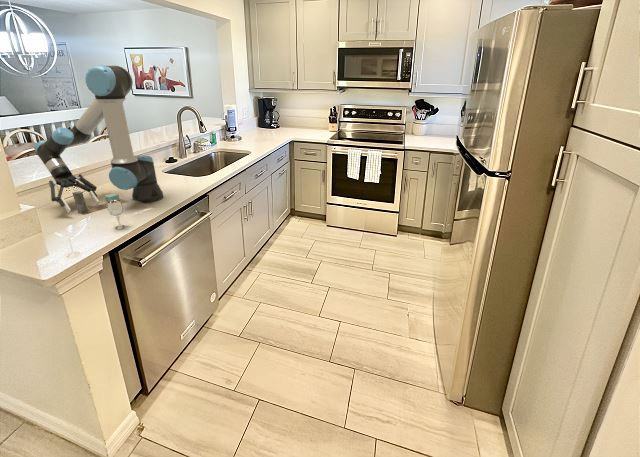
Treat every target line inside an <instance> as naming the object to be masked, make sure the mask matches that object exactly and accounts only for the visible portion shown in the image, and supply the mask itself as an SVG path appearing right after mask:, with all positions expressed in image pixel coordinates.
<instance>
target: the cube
mask: <svg viewBox="0 0 640 457" xmlns="http://www.w3.org/2000/svg"><path fill="white" fill-rule="evenodd" d="M104 198H105V201H106V203H107V204H108V201H111V200H120V196H119V194H117V193H110V194H106V195H104Z"/></svg>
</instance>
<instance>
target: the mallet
mask: <svg viewBox="0 0 640 457" xmlns="http://www.w3.org/2000/svg"><path fill="white" fill-rule="evenodd" d="M72 195H73V196H72V197H73V199H74V203H75V206H76V209H77V213H78V214H81V215H82V216H85V215H88V214H92V213H96V212H99V211H101V210H106V209H108V207H107V202H106V203H103V204H98V205H95V206H92V207H89V208H88V207H87V204H86V199H85V197H84V193H83V191H80V190H78V191H73V192H72ZM119 199H120V198H119ZM120 202H121V203H122V205H123V204H125V203H126V204H127V203H128V202H129V200H126V199H120Z"/></svg>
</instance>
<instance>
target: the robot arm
mask: <svg viewBox="0 0 640 457" xmlns="http://www.w3.org/2000/svg"><path fill="white" fill-rule="evenodd" d="M84 80H85V84H86V87H87V89H88V90H89V91H91V93H92V94H93V95H94V97H95V99H94V100H93V101H92V102H91V104H89V105H88V107H87V109H85V112H83V113H82V115H81V116H80V117H79V119H78V120H77V121H76V122H75V124H74V125H73V126H72V128H69V129H68V128H66V127H62V126H59V127H57V128H56V129H55V130H54V131H53V132H52V133H51V135H50V136H49V137H48V139H46V140H39V141H38V142H36V143H35V144H34V146H33V148H34V149H33V150H34V151H35V153H36V155H37V156H38V157H39V159H40V160H41V161H42V163H43V165H44V166H45V167H46V169H47V171H48V172H49V174H50V175H51V177H52V178H53V180H52V179H51V180H49V181H48V185H49V187H50V197H51V202H56V203H58V204H59V205H60V207H63V208H64V209H65V210H66V212H67V213H68V214H69V213H71V210H72V209H71V208H70V206H69V205H68V203H67V202H66V200H65V198H63V197H62V194H63V191H64V188H65V189H68V188H72V187H75V188H78V189H81V190H83V191H85V192H88V193H89V197H91V199H92V201H93V202H94V203H95V204H96V205H95V206H99V203H100V200H99V199H98V194H97V192H96V191H97V188H98V187H97V186H96V185H94V184H93V183H92V182H90V181H89V180H88V179H86V178H85V177H84V176H83V175H82V174H80V173H79V174H78V175H76V176H75V175H73V172H72V171H71V169H70V168H69V167H68V165H67V164H66V163H65V161H64V160H63V158H62V157H61V154H63V152H65V150H67V148H70V147H74V146H76V145H77V146H78V145H80V144H84V143H85V144H86V143H87V142H89V141H90V140H91V139H92V133H93V132H94V131H95V130H96V129H97V127H99V125H100V124H101V123H102V121H103V120H104V123H105V124H104V125H105V127H106V133H107V136H108V140H109V141H108V142H109V144H110V148H111V154H112V159H110V164H111V169H110V170H109V172H108V178H109V181H110V183H111V184H112V185H113V186H114V187H116V188H117V189H119V190H124V191H128V190H132V194H131V198H132V201H135V202H140V203H142V204H147V203H154V202H159V201H160V200H162V199H164V192H163V190H162V189H161V187H160V185H159V184H158V180H157V174H156V169H155V165H154V163H155V162H154V159H153V157H152V156H151V155H145V154H144V155H140V154H139V155H134V150H133V146H132V145H133V144H132V141H131V137H130V131H129V127H128V122H127V117H126V112H125V108H124V101H125V100H126V99H127V98H126V96H127V95H128V94H129V93H130V92H131V90H132V88H133V84H134V83H133V78H132V75H131V74H130V73H129V71H128V70H127V69H126V68H124V67H122V66H119V65H103V64H101V65H95V66H92V67H90V68H89V69H88V70H87V71H86V73H85V79H84ZM56 185H58V186H60V187H59V190H58V193H57V196H56V191H55V189H56V187H55V186H56Z"/></svg>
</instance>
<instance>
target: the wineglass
mask: <svg viewBox="0 0 640 457" xmlns="http://www.w3.org/2000/svg"><path fill="white" fill-rule="evenodd" d="M107 207H108V208H107V211H108V213H109V215H111V216H114V217H116V220H117V222H118V225H117V226H115V227H114V229H115V230H122V228H123V229H125V228H126V227H127V226H126V224H121V222H120V217H119V216H121V215H122V214H123V213H124V206H123V204H122V203H121V202H120V200H111V201H108V204H107Z"/></svg>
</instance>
